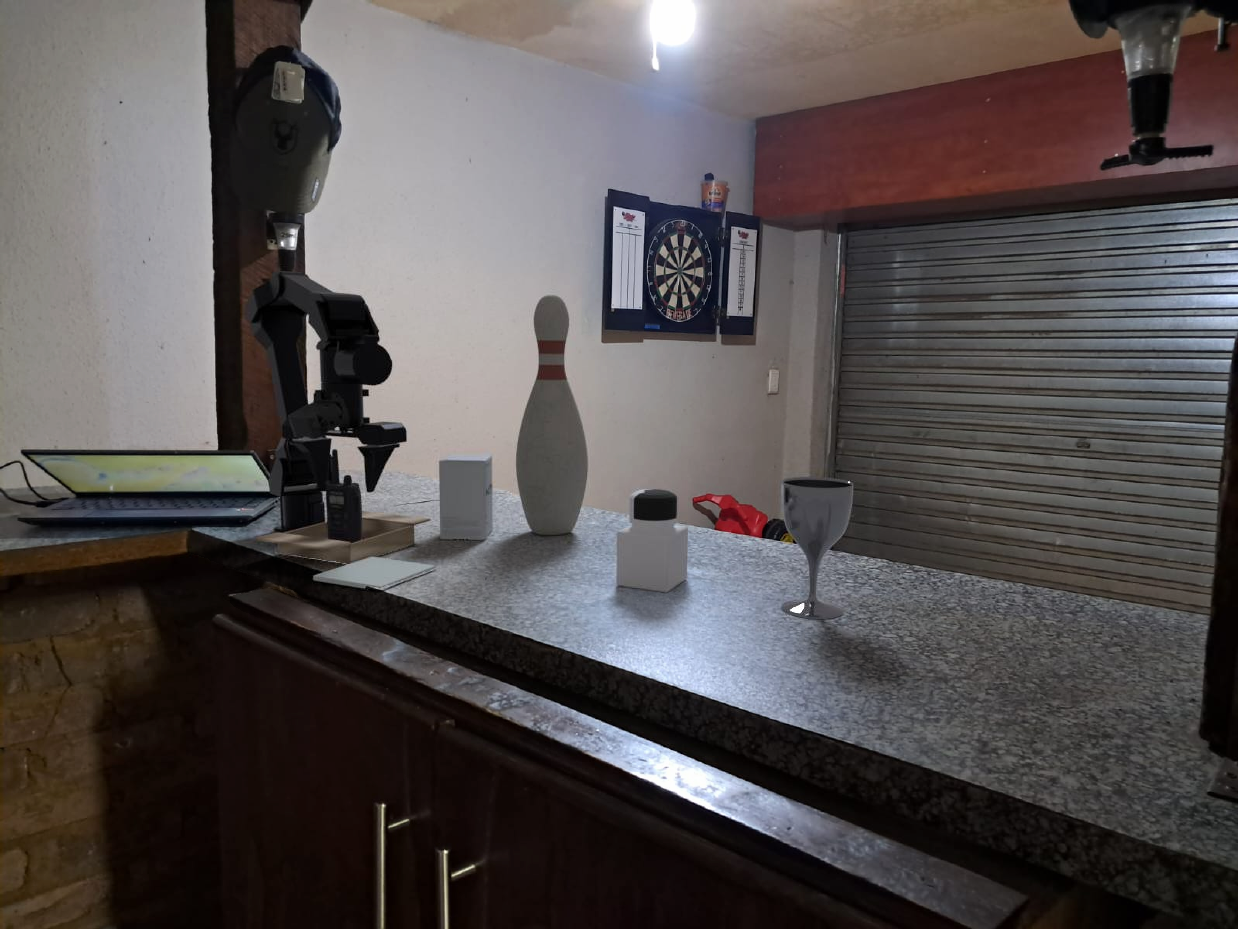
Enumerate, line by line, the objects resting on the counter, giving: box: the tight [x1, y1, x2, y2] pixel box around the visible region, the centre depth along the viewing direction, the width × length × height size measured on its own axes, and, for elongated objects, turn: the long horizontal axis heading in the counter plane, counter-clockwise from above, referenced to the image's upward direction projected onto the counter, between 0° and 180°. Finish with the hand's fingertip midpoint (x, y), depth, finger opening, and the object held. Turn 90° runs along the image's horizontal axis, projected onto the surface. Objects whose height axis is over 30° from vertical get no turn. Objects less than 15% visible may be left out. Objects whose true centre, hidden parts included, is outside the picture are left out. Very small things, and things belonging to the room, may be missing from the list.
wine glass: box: [780, 476, 854, 620], centre depth 97 cm, size 8×8×15 cm
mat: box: [312, 557, 437, 590], centre depth 111 cm, size 11×11×1 cm
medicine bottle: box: [615, 488, 689, 593], centre depth 107 cm, size 7×7×12 cm
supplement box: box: [438, 454, 494, 541], centre depth 133 cm, size 7×7×13 cm
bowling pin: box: [515, 294, 589, 536], centre depth 134 cm, size 11×12×38 cm
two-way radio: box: [325, 448, 363, 543], centre depth 123 cm, size 6×4×15 cm
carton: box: [254, 510, 432, 564], centre depth 124 cm, size 14×22×3 cm, turn 155°
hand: (345, 489), depth 123 cm, fingers open, 9 cm apart
